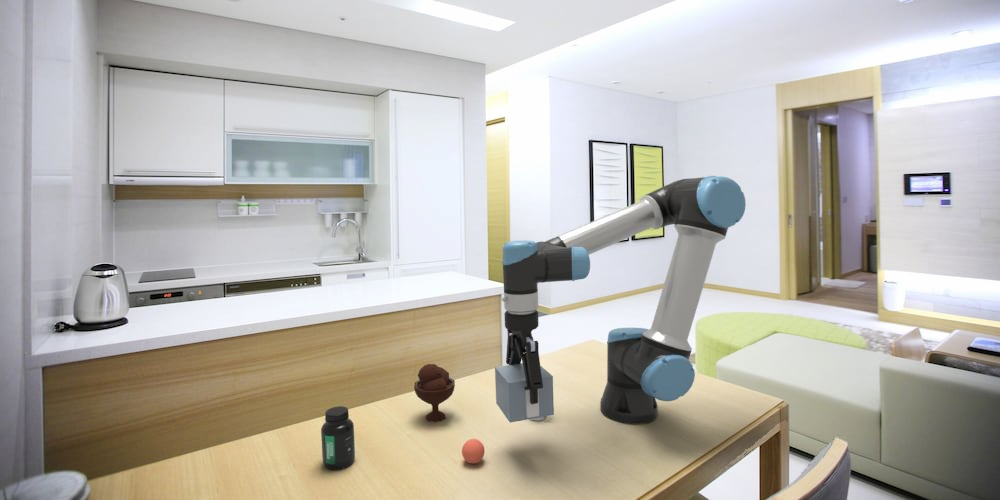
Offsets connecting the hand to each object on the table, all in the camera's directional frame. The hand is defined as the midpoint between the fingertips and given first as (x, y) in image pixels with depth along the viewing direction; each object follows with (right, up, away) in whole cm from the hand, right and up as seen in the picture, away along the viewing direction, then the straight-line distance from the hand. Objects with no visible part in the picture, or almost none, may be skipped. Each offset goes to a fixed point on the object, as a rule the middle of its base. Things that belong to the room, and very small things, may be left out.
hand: (524, 405), depth 106 cm
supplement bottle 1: (-41, -12, -2) cm, 43 cm away
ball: (-11, -9, -3) cm, 15 cm away
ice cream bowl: (-23, -10, +19) cm, 31 cm away
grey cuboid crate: (0, -1, 0) cm, 1 cm away
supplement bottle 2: (+4, -10, +19) cm, 22 cm away
